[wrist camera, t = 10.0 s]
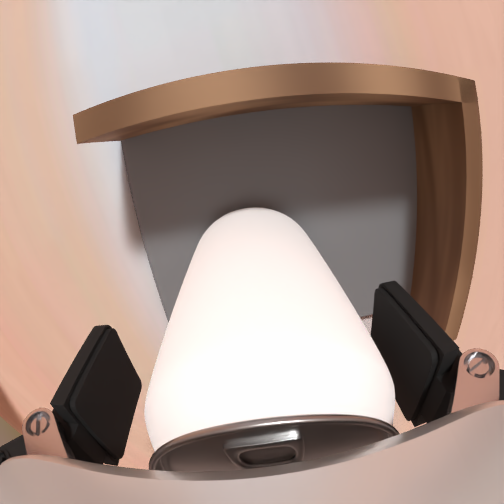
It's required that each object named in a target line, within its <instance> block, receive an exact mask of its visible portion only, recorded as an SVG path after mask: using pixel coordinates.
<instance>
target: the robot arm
mask: <svg viewBox="0 0 504 504" xmlns="http://www.w3.org/2000/svg"><path fill="white" fill-rule="evenodd" d="M371 338H372V339H373V341H374V343H375V345H376V346H377V348H378V350H379V352H380V354H381V356H382V358H383V360H384V362H385V364H386V365H387V367H388V370H389V372H390V375H391V377H392V380H393V383H394V389H395V399H396V401H397V403H398V405H399V407H400V409H401V411H402V413H403V415H404V416H405V418H406V420H407V421H410V420H411V421H412V423H413V425H414V427H416V426H418V425H421V424H423V423H425V422H427V424H425V425H422V426H420V427H417V428H415V429H412V430H410V431H407V432H404V433H402V434H399V435H396V436H393V437H390V438H387V439H385V440H382V441H379V442H376V443H373V444H369V445H366V446H363V447H360V448H356V449H353V450H349V451H345V452H341V453H338V454H334V455H329V456H325V457H321V458H316V459H311V460H306V461H301V462H295V463H290V464H283V465H277V466H270V467H262V468H252V469H242V470H228V471H198V472H190V471H158V470H145V469H134V468H125V467H118V462H119V459H121V458H122V457H123V455H124V451H125V447H126V443H127V439H128V435H129V431H130V427H131V424H132V420H133V416H134V413H135V409H136V406H137V402H138V399H139V395H140V392H141V388H142V385H141V380H140V378H139V376H138V374H137V372H136V371H135V369H134V367H133V365H132V363H131V361H130V359H129V357H128V355H127V353H126V351H125V349H124V347H123V345H122V342H121V340H120V338H119V336H118V334H117V332H116V330H115V329H113V328H112V327H111V326H109V325H101V326H95V327H94V328H93V329H92V331H91V332H90V334H89V336H88V337H87V339H86V341H85V342H84V344H83V345H82V347H81V349H80V350H79V352H78V354H77V356H76V357H75V359H74V361H73V362H72V364H71V366H70V368H69V369H68V371H67V373H66V375H65V377H64V378H63V380H62V382H61V384H60V386H59V388H58V389H57V391H56V393H55V395H54V397H53V399H52V401H51V403H50V404H51V405H52V407H53V408H54V409H53V411H52V412H51V411H50V410H49V409H46V408H39V409H36V410H34V411H32V412H31V413H29V414H28V415H27V417H26V418H25V420H24V422H23V425H22V431H23V435H21V436H19V437H18V438H16V439H14V440H12V441H10V442H8V443H7V444H5V445H3V446H1V447H0V504H504V370H501V369H499V363H498V361H497V359H496V357H495V356H494V355H493V354H492V353H490V352H488V351H487V350H483V349H476V348H474V349H470V350H467V351H466V352H464V353H463V354H462V353H461V352H460V350H459V347H458V346H457V345H456V344H455V342H454V341H453V340H452V339H451V338H450V337H449V336H448V335H447V333H446V332H445V331H444V330H443V329H442V328H441V327H440V326H439V325H438V324H437V323H436V322H435V320H434V319H433V318H432V317H431V316H430V315H429V314H428V313H427V312H426V311H425V310H424V309H423V308H422V307H421V306H420V305H419V304H418V303H417V302H416V301H415V300H414V299H413V298H412V297H411V296H410V294H409V293H408V292H407V291H406V290H405V289H404V288H403V287H402V286H401V285H399V284H398V283H397V282H396V281H390V282H385V283H381V284H380V285H379V287H378V288H377V289H375V293H374V306H373V317H372V328H371ZM103 462H104V463H105V464H109V465H103ZM110 465H116V466H110Z"/></svg>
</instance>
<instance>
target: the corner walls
mask: <svg viewBox="0 0 504 504" xmlns="http://www.w3.org/2000/svg"><path fill="white" fill-rule="evenodd" d="M329 105H394V106H411V109H412V117H413V126H414V137H415V150H416V170H417V224H416V243H415V257H414V268H413V278H412V286H411V294H410V296H411V297H412V298H413V299H414V300H415V301H416V302H417V303H418V304H419V305H420V306H421V307H422V308H423V309H424V310H425V311H426V312H427V313H428V314H429V315H430V316H431V317H432V318H433V319H434V320H435V322H436V323H437V324H438V325H439V326H440V327H441V328H442V329H443V330H444V331H445V332H446V333H447V335H448V336H449V337H450V338H451V339H452V340H455V339H456V338H457V335H458V332H459V329H460V325H461V322H462V318H463V314H464V310H465V306H466V302H467V298H468V294H469V289H470V285H471V280H472V275H473V269H474V264H475V258H476V251H477V244H478V236H479V227H480V216H481V202H482V139H481V126H480V115H479V107H478V99H477V92H476V86H475V81H474V80H470V79H466V78H462V77H457V76H453V75H448V74H443V73H438V72H433V71H427V70H420V69H414V68H406V67H398V66H389V65H377V64H362V63H297V64H281V65H269V66H259V67H250V68H243V69H235V70H229V71H223V72H217V73H211V74H206V75H201V76H196V77H191V78H186V79H182V80H178V81H174V82H170V83H166V84H162V85H158V86H154V87H151V88H147V89H144V90H141V91H137V92H134V93H131V94H128V95H125V96H122V97H119V98H116V99H113V100H110V101H107V102H104V103H102V104H99V105H96V106H94V107H91V108H89V109H86V110H84V111H81V112H79V113H77V114H74V115H73V119H74V127H75V134H76V140H77V144H80V143H91V142H105V141H121V140H125V139H128V138H131V137H135V136H139V135H142V134H146V133H150V132H153V131H157V130H161V129H165V128H170V127H174V126H178V125H183V124H187V123H192V122H197V121H202V120H207V119H213V118H218V117H224V116H230V115H237V114H243V113H250V112H258V111H266V110H275V109H285V108H296V107H310V106H329Z"/></svg>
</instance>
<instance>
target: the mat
mask: <svg viewBox="0 0 504 504" xmlns="http://www.w3.org/2000/svg"><path fill="white" fill-rule="evenodd" d="M121 144H122V149H123V155H124V160H125V165H126V170H127V175H128V180H129V185H130V189H131V194H132V198H133V202H134V207H135V211H136V215H137V219H138V223H139V227H140V231H141V235H142V238H143V242H144V246H145V249H146V253H147V256H148V260H149V263H150V267H151V270H152V273H153V277H154V280H155V283H156V286H157V289H158V292H159V296H160V299H161V302H162V305H163V308H164V311H165V313H166V316H167V319H168V322H169V320H170V317H171V314H172V312H173V309H174V306H175V303H176V300H177V297H178V295H179V292H180V289H181V286H182V284H183V281H184V278H185V276H186V273H187V270H188V268H189V265H190V263H191V260H192V257H193V255H194V252H195V250H196V248H197V245H198V243H199V241H200V239H201V237H202V236H203V234H204V233H205V232H206V230H207V229H208V228H209V227H210V226H211V225H212V224H213V223H214V222H215V221H216V220H218V219H219V218H221V217H222V216H224V215H226V214H228V213H230V212H233V211H236V210H239V209H244V208H253V207H258V208H267V209H272V210H275V211H278V212H280V213H283V214H285V215H286V216H288V217H290V218H291V219H293V220H294V221H295V222H296V223H297V224H298V225H299V226H300V227H301V228H302V229H303V230H304V231H305V233H306V234H307V235H308V237H309V238H310V240H311V241H312V243H313V244H314V246H315V247H316V249H317V250H318V252H319V253H320V255H321V256H322V258H323V259H324V261H325V262H326V264H327V265H328V267H329V268H330V270H331V271H332V273H333V275H334V276H335V278H336V279H337V281H338V283H339V284H340V286H341V287H342V289H343V291H344V292H345V294H346V295H347V297H348V299H349V300H350V302H351V304H352V305H353V307H354V308H355V310H356V312H357V314H358V315H359V317H363V316H367V315H372V314H373V306H374V293H375V289H377V288H378V287H379V285H380V284H381V283H385V282H390V281H396V282H397V283H398V284H399V285H401V286H402V287H403V288H404V289H405V290H406V291H407V292H408V293H409V294H411V286H412V278H413V268H414V257H415V243H416V224H417V170H416V150H415V137H414V126H413V117H412V109H411V106H394V105H329V106H310V107H296V108H285V109H275V110H266V111H258V112H250V113H243V114H237V115H230V116H224V117H218V118H213V119H207V120H202V121H197V122H192V123H187V124H183V125H178V126H174V127H170V128H165V129H161V130H157V131H153V132H150V133H146V134H142V135H139V136H135V137H131V138H128V139H125V140H121Z"/></svg>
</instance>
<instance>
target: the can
mask: <svg viewBox="0 0 504 504" xmlns="http://www.w3.org/2000/svg"><path fill="white" fill-rule="evenodd" d="M394 408H395V389H394V383H393V380H392V377H391V375H390V372H389V370H388V367H387V365H386V364H385V362H384V360H383V358H382V356H381V354H380V352H379V350H378V348H377V346H376V345H375V343H374V341H373V339H372V338H371V336H370V334H369V332H368V330H367V329H366V327H365V325H364V324H363V322H362V320H361V319H360V317H359V315H358V314H357V312H356V310H355V308H354V307H353V305H352V304H351V302H350V300H349V299H348V297H347V295H346V294H345V292H344V291H343V289H342V287H341V286H340V284H339V283H338V281H337V279H336V278H335V276H334V275H333V273H332V271H331V270H330V268H329V267H328V265H327V264H326V262H325V261H324V259H323V258H322V256H321V255H320V253H319V252H318V250H317V249H316V247H315V246H314V244H313V243H312V241H311V240H310V238H309V237H308V235H307V234H306V233H305V231H304V230H303V229H302V228H301V227H300V226H299V225H298V224H297V223H296V222H295V221H294V220H293V219H291V218H290V217H288V216H286V215H285V214H283V213H280V212H278V211H275V210H272V209H267V208H258V207H253V208H244V209H239V210H236V211H233V212H230V213H228V214H226V215H224V216H222V217H221V218H219V219H218V220H216V221H215V222H214V223H213V224H212V225H211V226H210V227H209V228H208V229H207V230H206V232H205V233H204V234H203V236H202V237H201V239H200V241H199V243H198V245H197V248H196V250H195V252H194V255H193V257H192V260H191V263H190V265H189V268H188V270H187V273H186V276H185V278H184V281H183V284H182V286H181V289H180V292H179V295H178V297H177V300H176V303H175V306H174V309H173V312H172V314H171V317H170V320H169V323H168V326H167V329H166V332H165V335H164V338H163V341H162V344H161V347H160V350H159V354H158V357H157V360H156V363H155V367H154V370H153V373H152V377H151V380H150V384H149V388H148V392H147V396H146V402H145V411H144V413H145V422H146V427H147V431H148V434H149V437H150V440H151V443H152V446H153V449H154V453H153V455H152V457H151V459H150V461H149V470H158V471H190V472H198V471H228V470H242V469H252V468H262V467H270V466H277V465H283V464H290V463H295V462H301V461H306V460H311V459H316V458H321V457H325V456H329V455H334V454H338V453H341V452H345V451H349V450H353V449H356V448H360V447H363V446H366V445H369V444H373V443H376V442H379V441H382V440H385V439H387V438H390V437H393V436H396V435H399V432H398V431H397V430H396V429H395V428H394V427H393V418H394Z"/></svg>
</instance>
